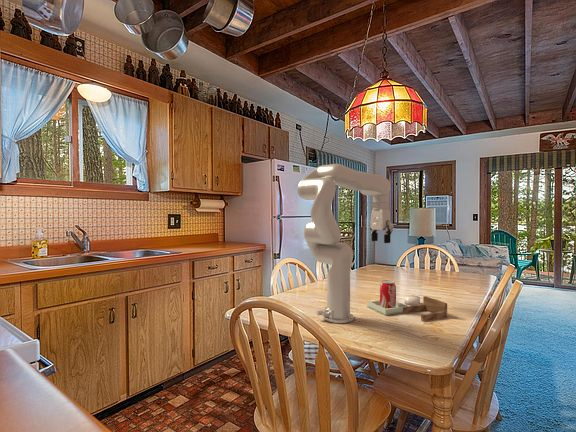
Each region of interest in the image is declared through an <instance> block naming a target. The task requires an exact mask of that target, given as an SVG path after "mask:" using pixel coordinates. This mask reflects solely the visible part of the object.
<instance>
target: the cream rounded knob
mask: <svg viewBox="0 0 576 432" xmlns="http://www.w3.org/2000/svg"><path fill="white" fill-rule="evenodd" d="M404 304H405V305H407V306H414V305H421V297H420V296H419V295H414V294H406V295H404Z"/></svg>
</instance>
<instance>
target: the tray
mask: <svg viewBox="0 0 576 432" xmlns="http://www.w3.org/2000/svg"><path fill="white" fill-rule="evenodd" d="M366 303H367V304H366V305H367V306H366V308H367V309H370V310H372V311H374V310H375V312H376V311H377V312H376V313H379V314H381V315H382V316H386V315H387V316H393V315H399V314H404V313H403V307H409V306H410V305H406V304H405V303H401V302H399V301H397V300H396V307H395V308H388V309H385V308H383V307H381V306H380V299H378V300H370V301H367V302H366ZM387 316H386V317H387Z"/></svg>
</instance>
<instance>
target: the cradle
mask: <svg viewBox="0 0 576 432" xmlns="http://www.w3.org/2000/svg"><path fill="white" fill-rule="evenodd" d="M422 299H423V300H422V302H423V303H422V304H421V303H420V305H414V306H410V305H408V306H409V307H403V313H402V314H409V313H417V312H423V311H426V312H428V313H422V314H420V321H421V322H429V321H434V319H435V320H439V319H440V320H441V319H446V318H448V302H444V301H441V300H438V299H435V298H432V297H429V296H426V295H425V296H423V298H422Z"/></svg>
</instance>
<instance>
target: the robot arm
mask: <svg viewBox="0 0 576 432" xmlns="http://www.w3.org/2000/svg"><path fill="white" fill-rule="evenodd" d="M337 186H338V187H341V188H344V189H348V190H350V191H359V193H361V194H362V195H363V196H372V210H371V214H370V223H369V224H368V226H369V230H370V233H371V242H378V238H379V232H378V231H383V232H384V234H383V243H384V244H390V243H391V236H392V233H393V231H394V227H395V226H394V224H393V223H391V212H390V191H391V182H390V181H389V179H388V178H387V177H384V176H382V175H380V174H375V173H370V172H364V171H359V170H355V169H353V168H350V167H348V166H347V165H343V164H340V163H331V164H323V165H319V166H317V167H315V168H314V169H313V170H312V171H311V172H309V173H308V174H307V175H306V176H304V177H303V178H302V179H300V181H299V183H298V185H297V186H296V187H297V190H296V192H297V194H298V196H299V197H300V198H301V200H305V201H306V200H307V201H311V200H312V201H313V203H312V206H311V209H310V218H311V221H309V222H307V223H306V224H305V226H304V230H303V236H304V240H305V242H306V244H307V246H308V248H309V250H310V252H311V255H312V256H313V258H314V259H315V260H316V261H317V262H318V263H320V264H325V265H331V266H330V269H329V271H328V272H327V275H326V278H327V279H326V282H327V283H326V285H327V287H326V306H325V307H324V309H322V310H321V309H320V310H316V315H317V317H318V316H322V318H323V319H324V320H325V321H326V322H329V323H335V324H348V323H351V322H353V321H354V320H355V317H354V314H352V313H351V270H352V263H353V259H354V250H353V249H352V247H351V246H350V244H349V245H348V244H347V243H344V242H340V241H341V238H342V233H341V230H340V228H339V226H338V225H339V224H338V222H337V220H336V218H335V216H334V212H333V211H332V210H333V209H332V204H333V200H334V198H335V195H336V190H337Z"/></svg>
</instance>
